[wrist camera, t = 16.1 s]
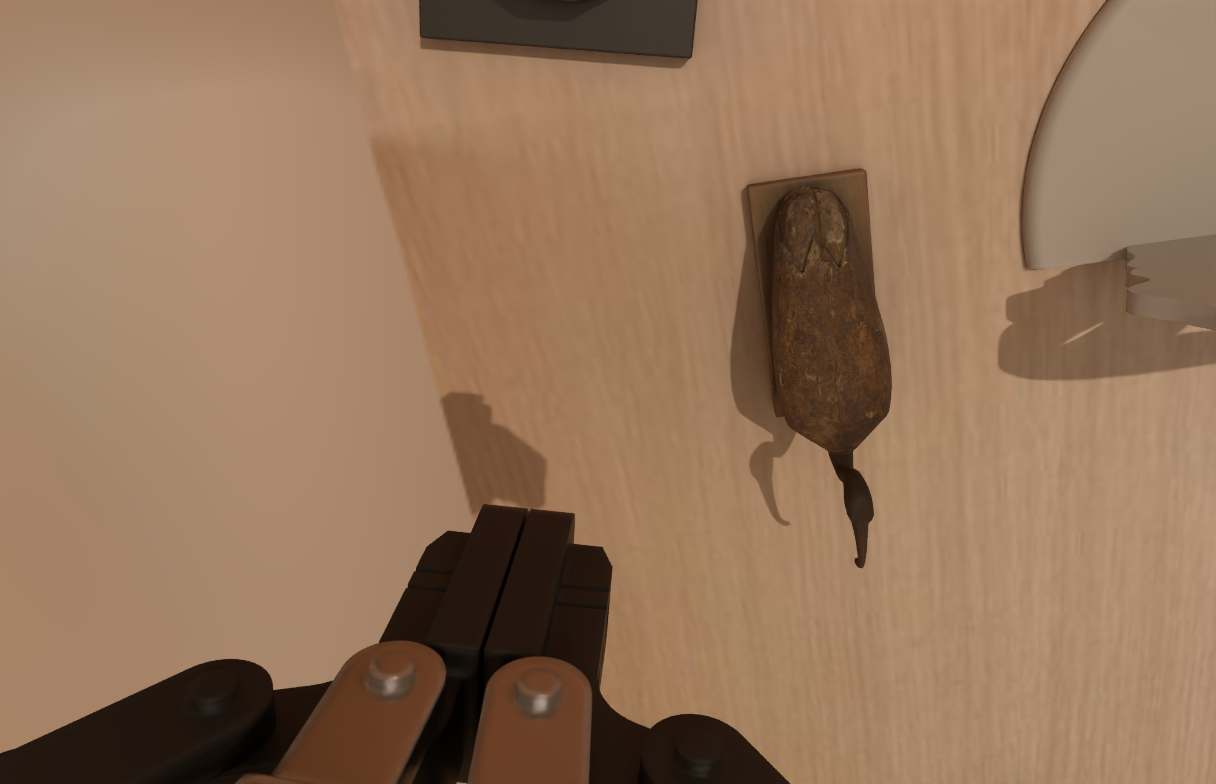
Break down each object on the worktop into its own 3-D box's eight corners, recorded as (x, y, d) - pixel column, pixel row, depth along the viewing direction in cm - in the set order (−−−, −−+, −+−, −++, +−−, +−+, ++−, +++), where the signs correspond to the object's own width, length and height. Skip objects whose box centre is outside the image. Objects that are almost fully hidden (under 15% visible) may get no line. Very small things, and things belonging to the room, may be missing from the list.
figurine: (886, 481, 39) (937, 600, 31) (784, 493, 39) (808, 613, 31) (862, 163, 33) (917, 208, 26) (745, 183, 34) (762, 233, 26)
